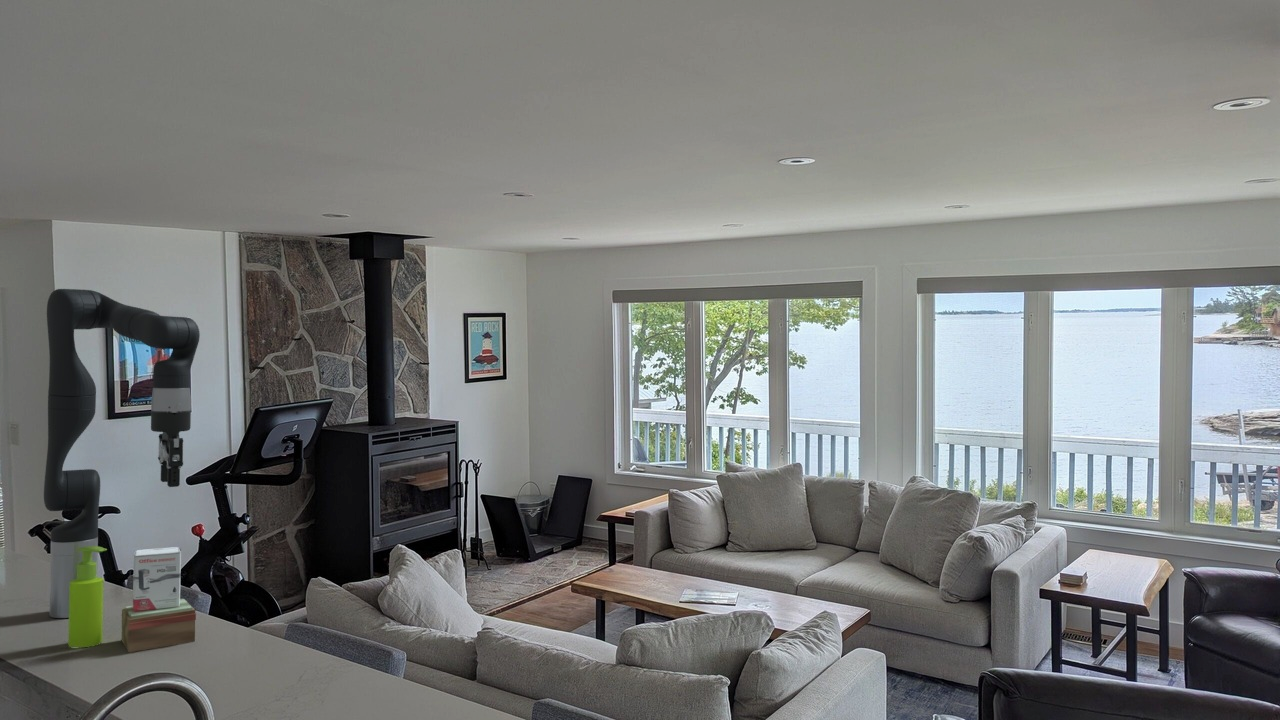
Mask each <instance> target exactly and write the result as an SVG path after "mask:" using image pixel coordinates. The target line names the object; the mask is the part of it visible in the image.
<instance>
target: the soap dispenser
mask: <svg viewBox="0 0 1280 720" xmlns="http://www.w3.org/2000/svg"><path fill="white" fill-rule="evenodd" d="M107 550H108V549H107V548H106V547H105V548H104V547H102V546H99V545H98V546H87V547H81V548H78V551H82V562H80V563H79V564H77V579H75V580H72V581H70V586H69V618H68V644H67V645H69V646H70V647H88V648H90V647H89V646H92V647H94V646H93V645H96V646H98V645H97V644H99V643H101V642H102V643H103V627H104V625H103V623H104V622H103V620H104V618H103V617H104V616H103V615H104V578H103V577H99V576H97V577H96V565H97V564H96V562H94V561H92V551H94V552H97V553H98V554H99V553H103V552H106V551H107ZM102 643H101V644H102ZM99 645H100V644H99ZM69 646H68V647H69ZM70 647H69V648H70Z"/></svg>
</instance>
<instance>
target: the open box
mask: <svg viewBox="0 0 1280 720" xmlns="http://www.w3.org/2000/svg"><path fill="white" fill-rule="evenodd" d="M196 617H197V614H196V609H195V608H194V607H193V606H192V605H191V604H190V603H189V602H188V601H187V599H185V598H180V605H179V607H172V608H163V609H154V610H145V611H137V612H134V611H133V605H129V606H125V607H124V608H122V609H121V641H122V643H124V644H123V645H124V647H125V648H126V651H127V652H128V653H131V652H133V653H134V652H140V651H144V650H151V649H152V650H153V649H156V648H162V647H168V646H175V645H179V644H180V645H182V644H187V643H191V642H192V643H193V642H195V641H196V620H197V618H196Z"/></svg>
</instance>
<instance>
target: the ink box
mask: <svg viewBox="0 0 1280 720" xmlns="http://www.w3.org/2000/svg"><path fill="white" fill-rule="evenodd" d="M181 568H182V548H181V547H178V546H173V547H158V548H147V549H137V550H136V551H134V552H133V577H132V578H133V582H132V585H133V586H132V606H133V611H134V612H137V611H145V610H154V609H163V608H172V607H179V605H180V599H181V575H182V574H181V573H182V571H181V570H182V569H181Z"/></svg>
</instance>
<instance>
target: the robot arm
mask: <svg viewBox="0 0 1280 720" xmlns="http://www.w3.org/2000/svg"><path fill="white" fill-rule="evenodd" d="M46 322H47V323H46V324H47V337H48V350H49V351H48V352H49V354H48V355H49V367H48V368H49V369H48V371H49V374H48V389H47V390H48V392H47V451H46V461H45V462H46V463H45V472H44V482H43V483H44V485H43V501H44V506H45V508H46V510H48V511H49V512H60V511H61V512H63V511H64V512H65V511H73V510H74V511H75V510H76V511H77V510H81V513H79V515H78V516H76V517H75V518H73V519H72V520H69V521H67V522H65V523H62V524H58V525H56V526H54V527H53V528H52V529H51V530H50V531H51V532H50V560H49V561H50V563H49V564H50V568H49V569H50V572H49V613H48V614H49V617H50V618H56V619H66V618H67V619H69V586H70V581H72V580H75V579H77V564H79V563H80V562H82V551H78V548H81V547H87V546H98V547H99V545H98V544H99V509H100V508H99V507H100V497H101V477H100V474H99V472H98V471H97V470H96V469H93V468H91V469H86V468H85V469H71V470H70V469H69V470H67V469H66V470H63V468H64V464H65V461H66V459H67V456H68V454H69V452H70V451H71V449H72V447H73V446H74V445H75V443H76V442H77V440H79V438H80V437H81V435H82V434H84V432H85V430H87V428H88V427H89V426H90V424H91V423H92V421H93V420H94V417H95V415H96V406H97V405H96V404H97V403H96V401H97V400H96V399H97V388H96V383H95V381H94V379H93V377H92V376H91V373H90V372H89V370H88V369H87V367H86V366H85V364H84V363H83V362H82V360H81V358H80V357H79V355H78V353H77V350H76V344H75V330H92V329H113V331H114V332H115V333H116V334H118V335H120V336H122V337H124V338H127V339H130V340H135V341H138V342H141V343H143V344H144V345H146V346H148V347H150V348H155V349H161V350H162V349H163V350H168V349H169V350H172V351H171V353H170V355H169V357H168V358H166V359H161V360H158V361H157V362H155V363H154V365H153V368H152V369H153V371H152V375H153V376H152V394H151V400H150V401H151V402H150V403H151V404H150V407H151V408H150V410H151V411H150V430H151V431H152V432H155V433H160V434H159V435H158V457H157V460H158V461H159V465H160V481H161V482H162V483H167V484H166V485H167V487H169V488H176V487H179V486H180V481H181V480H180V477H181V474H180V473H181V468H182V467H183V465H184V439H183V437H180V433H181V432H188V431H190V429H191V422H192V419H191V417H192V414H191V413H192V395H191V368H192V365H193V361H194V359H195V355H196V353H197V350H198V349H197V348H198V346H199V343H200V336H201V335H200V334H201V333H200V328H199V326H198V324H197V323H196V321H195V320H194V319H192V318H190V317H186V316H169V315H168V316H167V315H160V314H159V313H157V312H155V311H153V310H149V309H144V308H141V307H135V306H131V305H127V304H123V303H121V302H119V301H117V300H114V299H112V298H111V297H109V296H107V295H105V294H103V293H101V292H98V291H97V290H96V291H95V290H92V289H79V288H77V289H76V288H56V289H55V290H53V291H52V292H51V293H50V295H49V297H48V299H47V304H46ZM98 555H99V553H97V552H94V551H92V561H94V562H96V564H97V565H96V577H98V559H99V558H98V557H99V556H98Z"/></svg>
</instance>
